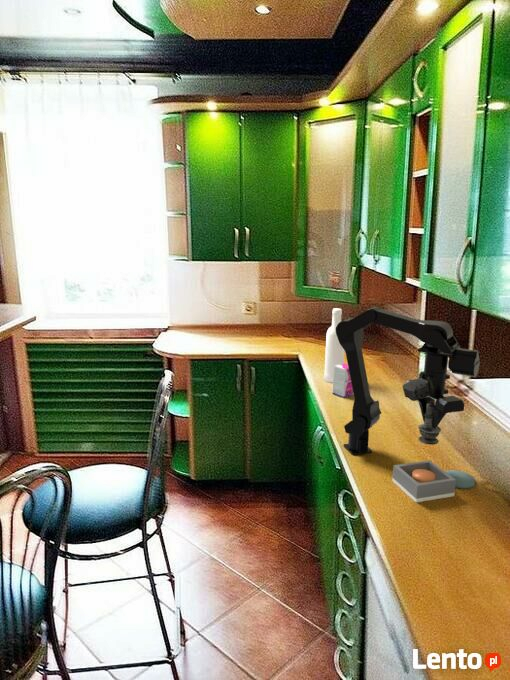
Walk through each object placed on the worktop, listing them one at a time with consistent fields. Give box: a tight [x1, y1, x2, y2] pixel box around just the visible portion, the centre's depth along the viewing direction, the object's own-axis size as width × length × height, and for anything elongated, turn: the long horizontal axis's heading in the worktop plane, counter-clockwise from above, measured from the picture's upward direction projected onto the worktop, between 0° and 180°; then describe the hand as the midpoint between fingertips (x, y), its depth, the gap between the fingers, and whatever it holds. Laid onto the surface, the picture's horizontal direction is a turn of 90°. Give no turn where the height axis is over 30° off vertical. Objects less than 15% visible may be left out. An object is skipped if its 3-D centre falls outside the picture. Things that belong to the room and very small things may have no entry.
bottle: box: [323, 307, 346, 384], centre depth 220 cm, size 8×8×30 cm
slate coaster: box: [444, 469, 476, 490], centre depth 142 cm, size 8×8×1 cm
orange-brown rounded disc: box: [412, 469, 435, 483], centre depth 137 cm, size 6×6×1 cm
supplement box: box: [331, 362, 354, 399], centre depth 205 cm, size 6×6×12 cm
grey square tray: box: [391, 459, 456, 503], centre depth 138 cm, size 11×11×4 cm
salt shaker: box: [418, 399, 442, 446], centre depth 145 cm, size 6×6×12 cm
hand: (429, 424), depth 146 cm, fingers closed on salt shaker, 3 cm apart
